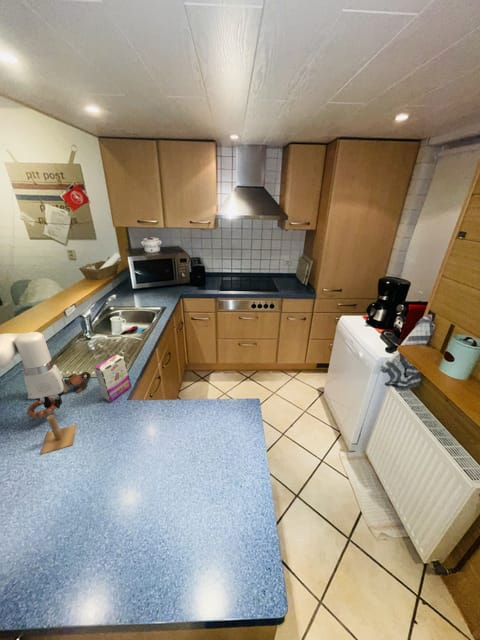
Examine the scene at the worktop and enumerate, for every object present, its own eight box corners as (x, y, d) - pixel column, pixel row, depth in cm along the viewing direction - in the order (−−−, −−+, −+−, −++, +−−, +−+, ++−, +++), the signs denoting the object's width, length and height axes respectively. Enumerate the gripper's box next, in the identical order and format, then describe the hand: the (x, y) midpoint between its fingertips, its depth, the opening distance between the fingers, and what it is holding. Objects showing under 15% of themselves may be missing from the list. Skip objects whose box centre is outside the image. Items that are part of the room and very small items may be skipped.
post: (41, 456, 81) (29, 431, 77) (48, 435, 89) (37, 411, 84) (73, 447, 85) (64, 422, 80) (77, 427, 92) (68, 403, 87)
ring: (24, 422, 88) (22, 417, 87) (32, 404, 95) (30, 400, 94) (55, 414, 91) (54, 410, 90) (60, 398, 99) (59, 394, 98)
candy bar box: (123, 383, 115) (116, 353, 108) (131, 387, 113) (125, 356, 106) (102, 399, 105) (93, 367, 98) (110, 403, 103) (101, 370, 97)
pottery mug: (74, 400, 105) (59, 386, 102) (68, 399, 112) (54, 386, 109) (98, 379, 113) (85, 366, 110) (92, 379, 119) (79, 366, 117)
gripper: (6, 378, 81) (25, 420, 88) (65, 367, 87) (77, 407, 94) (14, 365, 87) (31, 405, 95) (68, 356, 93) (80, 395, 101)
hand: (54, 406), depth 94 cm, fingers closed on ring, 2 cm apart
